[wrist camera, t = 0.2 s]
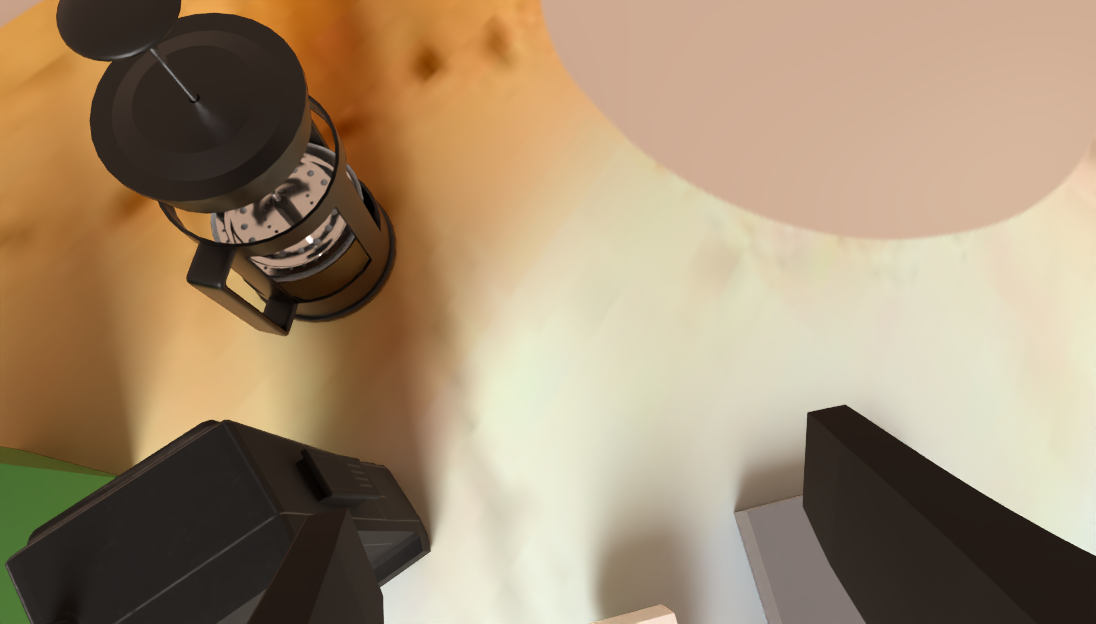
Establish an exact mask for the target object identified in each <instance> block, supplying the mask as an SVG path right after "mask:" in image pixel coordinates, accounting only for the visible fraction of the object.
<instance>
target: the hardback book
mask: <svg viewBox="0 0 1096 624" xmlns="http://www.w3.org/2000/svg"><path fill="white" fill-rule="evenodd" d="M116 477H118V476H116V475H113V474H109V473H105V472H101V471H98V470H94V469H90V468H86V467H83V466H79V465H75V464H71V463H68V462H64V461H60V460H57V459H53V458H49V457H45V456H42V455H38V454H34V453H30V452H27V451H23V450H19V449H13V448H7V447H0V624H30V622H29V619H28V617H27V615H26V613H25V610H24V608H23V606H22V603H21V601H20V599H19V597H18V594H17V592H16V590H15V588H14V585H13V583H12V581H11V578H10V576H9V574H8V572H7V569H6V567H5V563H6V562H7V560H8V559H9V558H10V557H11V556H13V555H14V554H15V553H16V552H18V551H19V550H21V549H22V548H24V547H25V546H27V542H28V539H29V537H30V535H31V534H32V532H33V531H34V530H35V529H37V528H38V527H40V526H41V525H43V524H44V523H46V522H48V521H49V520H51V519H52V518H54V517H55V516H57V515H58V514H60V513H62V512H63V511H65V510H66V509H68V508H69V507H71V506H73V505H74V504H76V503H77V502H79V501H80V500H82V499H83V498H85V497H87V496H88V495H90V494H91V493H93V492H94V491H96V490H97V489H99V488H101V487H102V486H104V485H105V484H107V483H108V482H110V481H111V480H113V479H115V478H116Z"/></svg>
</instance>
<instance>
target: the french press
mask: <svg viewBox="0 0 1096 624" xmlns="http://www.w3.org/2000/svg"><path fill="white" fill-rule="evenodd" d="M180 9H181V0H60V1H59V4H58V7H57V14H56V19H57V27H58V30H59V33H60V35H61V38H62V39H63V40H64V42H65V43H66V45H67V46H68V47H69V48H71V49H72V50H73V51H74V52H76V53H77V54H79V55H81V56H83V57H86V58H89V59H92V60H97V61H107V62H110V61H112V63H111V64H110V65H109V66H108V68H107V69H106V71H105V73H104V75H103V76H102V78H101V80H100V82H99V83H98V86H97V89H96V92H95V95H94V97H93V100H92V106H91V114H90V127H91V136H92V141H93V143H94V146H95V149H96V152H97V154H98V157H99V158H100V159H101V161H102V162H103V164H104V165H105V167H106V168H107V170H108V171H109V172H110V173H111V174H112V175H113V176H114V177H115V178H117V179H118V180H119V181H120V182H121V183H122V184H123V185H124V186H126V187H127V188H129V189H131V190H133V191H134V192H136V193H138V194H140V195H142V196H144V197H147V198H150V199H153V200H156V201H158V203H159V205H160V207H161V209H162V210H163V212H164V213H165V215H166V216H167V218H168V219H169V220H170V221H171V222H172V223H173V224H174V225H175V226H176V227H177V228H178V229H180V230H181V231H182V232H183V233H184V234H185V235H187V236H188V237H189V238H190V239H192V240H193V241H194V242H196V243H197V244H199V245H198V248H197V250H196V253H195V255H194V258H193V260H192V263H191V266H190V268H189V271H188V274H187V278H186V279H187V282H188V283H189V284H190V285H192V286H193V287H195V288H196V289H198V290H199V291H201V292H202V293H203V294H205V295H206V296H208V297H209V298H211V299H212V300H214V301H215V302H217V303H218V304H220V305H221V306H223V307H224V308H226V309H227V310H229V311H230V312H231V313H233V314H234V315H236V316H237V317H239V318H240V319H242V320H243V321H245V322H246V323H248V324H249V325H251V326H252V327H254V328H255V329H257V330H259V331H263V332H267V333H272V334H276V335H281V336H287V335H288V334H289V331H290V329H291V326H292V323H293V320H297V321H303V322H312V323H317V322H329V321H333V320H337V319H340V318H344V317H346V316H348V315H350V314H352V313H355V312H357V311H358V310H360V309H361V308H362V307H364V306H365V305H367V304H368V303H369V302H370V301H371V300H372V299H373V298H374V297H375V296H376V295H377V294H378V293H379V292H380V291H381V289H382V288H383V286H384V285H385V283H386V282H387V280H388V278H389V276H390V273H391V271H392V268H393V266H394V260H395V255H396V238H395V234H394V229H393V226H392V224H391V222H390V219H389V217H388V215H387V213H386V212H385V211H384V209H383V208H382V207H381V205H380V204H379V203H378V202H377V201H376V200H375V199H374V197H373V195H372V194H371V192H370V191H369V190H368V188H367V187H366V186H365V185H364V184H363V183H362V182H361V181H360V180H359V179H358V178H357V176H356V174H355V172H354V171H353V170H352V168H351V167H350V166H349V165H348V163H347V158H346V154H345V149H344V145H343V142H342V140H341V138H340V136H339V134H338V131H337V129H336V128H335V126H334V124H333V122H332V120H331V118H330V117H329V115H328V114H327V112H326V111H325V110H324V109H323V107H322V106H321V105H320V104H319V103H318V102H317V101H316V100H315V99H313V98H312V97H311V96H310V95H308V87H307V83H306V78H305V73H304V71H303V69H302V67H301V65H300V62H299V60H298V58H297V56H296V54H295V53H294V51H293V50H292V49H291V48H290V47H289V45H288V44H287V43H286V42H285V40H284V39H283V38H281V37H280V36H279V35H278V34H276V33H275V32H274V31H273V30H271V29H270V28H268V27H266V26H264V25H262V24H260V23H258V22H256V21H254V20H252V19H248V18H245V17H241V16H238V15H233V14H222V13H206V14H194V15H190V16H185V17H181V18H178V16H179V13H180ZM310 109H311V110H313V111H314V112H315V113H317V114H318V115H319V116H320V117H321V118H323V119H324V120H325V121H326V123H327V124H328V125H329V126H330V128H331V130H332V133H333V137H334V142H335V153H334V152H333V151H331V150H330V149H329V147H328V145H327V144H326V142H325V140H324V139H323V137H322V135H321V134H320V132H319V130H318V128H317V127H316V125H315V123H314V122H313V120H312V118H311V111H310ZM174 207H175V208H179V209H182V210H185V211H188V212H197V213H211V228H212V234H213V237H214V240H215V242H214V241H211V240H208V239H205V238H202V237H199V236H197V235H195V234H193V233H192V232H190V231H188V230H187V229H186V228H185V227H184V225H183V224H182V222H181V221H180V219H179V218H178V217H177V214H176V212H175V209H174ZM355 239H357V241H358V242H359V244H360V245H361V247H362V248H363V249H364V251H365V252H366V254H367V255H368V257H369V258H370V259H369V260H368V262H367V263H366V265H365V266H364V268H363V269H362V271H361V272H360V273H359V274H358V275H357V276H356V277H355V278H354V279H353V280H352V281H351V282H349V283H348V284H346V285H345V286H344V287H342V288H341V289H339V290H337V291H335V292H333V293H331V294H328V295H326V296H323V297H319V298H315V299H312V300H304V299H300V298H297V297H294V296H291V295H290V294H289V293H288V292H287V291H285V290H284V289H283V288H282V287H281V286H280V285H279V284H278V283H276V282H291V281H298V280H301V279H305V278H308V277H311V276H313V275H315V274H317V273H320V272H322V271H324V270H325V269H327V268H328V267H330V266H331V265H332V264H334V263H335V262H337V261H338V260H339V259H340V258H341V257H342V256H343V255H344V254H345V253H346V252H347V251H348V249H349V248H350V247H351V245H352V244H353V242H354V241H355ZM230 268H232V269H233V270H234V271H235V272H237V273H238V274H239V275H240V276H242V278H243V279H244V281H245V282H246V283H247V284H248V285H250V286H251V287H252V288H253V289H254V290H255V291H256V292H257V294H258V295H259V297H260V298H261V299H262V300H263V301H264V302H265V303H266V306H265V309H264V312H263V313H262V312H260V311H259V310H258V309H256V308H255V307H254V306H252V305H251V304H250V303H248V302H247V301H246V300H244V299H243V298H242V297H240V296H239V295H238V294H236V293H235V292H234V291H232V290H231V289H230V288H228V287H227V285H226V279H227V277H228V274H229V271H230Z"/></svg>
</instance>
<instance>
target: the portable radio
mask: <svg viewBox="0 0 1096 624" xmlns="http://www.w3.org/2000/svg"><path fill="white" fill-rule="evenodd" d="M343 508H348V509H349V511H350V514H351V516H352V519H353V521H354V524H355V526H356V529H357V531H358V534H359V536H360V539H361V541H362V544H363V546H364V549H365V551H366V554H367V556H368V559H369V562H370V564H371V567H372V569H373V572H374V574H375V577H376V579H377V582H378V584H379V587H381V586H383V585H384V584H386V583H387V582H388V581H390V580H391V579H393V578H394V577H395V576H397V575H398V574H400V573H401V572H403V571H404V570H405V569H407V568H408V567H410V566H411V565H412V564H414V563H415V562H417V561H418V560H419V559H421V558H422V557H424V556H425V555H426V554H428V553H429V552H430V551H431V549H430V544H429V539H428V535H427V532H426V530H425V528H424V526H423V524H422V522H421V520H420V518H419V516H418V515H417V513H416V512H415V510H414V509H413V507H412V505H411V504H410V502H409V501H408V499H407V498H406V496H405V494H404V493H403V491H402V490H401V488H400V487H399V485H398V483H397V482H396V480H395V479H394V477H393V476H392V474H391V472H390V471H389V470H388V469H387V468H386V467H385V466H384V465H376V464H374V463H368V462H360V461H359V459H357V458H351V457H346V456H341V455H336V454H333V453H330V452H327V451H324V450H321V449H317V448H314V447H311V446H308V445H305V444H302V443H299V442H296V441H293V440H290V439H287V438H283V437H280V436H277V435H274V434H271V433H268V432H265V431H262V430H259V429H256V428H253V427H250V426H246V425H243V424H240V423H237V422H234V421H231V420H223V421H221V422H218V421H215V420H208V421H205V422H202V423H200V424H199V425H197V426H196V427H194V428H193V429H191V430H189V431H188V432H186V433H185V434H183V435H182V436H180V437H179V438H177V439H175V440H174V441H172V442H171V443H169V444H168V445H166V446H164V447H163V448H161V449H160V450H158V451H157V452H155V453H154V454H152V455H150V456H149V457H147V458H146V459H144V460H143V461H141V462H140V463H138V464H136V465H135V466H133V467H132V468H130V469H129V470H127V471H126V472H124V473H122V474H121V475H119V476H118V477H116V478H115V479H113V480H111V481H110V482H108V483H107V484H105V485H104V486H102V487H101V488H99V489H97V490H96V491H94V492H93V493H91V494H90V495H88V496H87V497H85V498H83V499H82V500H80V501H79V502H77V503H76V504H74V505H73V506H71V507H69V508H68V509H66V510H65V511H63V512H62V513H60V514H58V515H57V516H55V517H54V518H52V519H51V520H49V521H48V522H46V523H44V524H43V525H41V526H40V527H38V528H37V529H35V530H34V531H33V532H32V534H31V535H30V537H29V539H28V542H27V546H25V547H24V548H22V549H21V550H19V551H18V552H16V553H15V554H14V555H13V556H11V557H10V558H9V559H8V560H7V562H6V563H5V567H6V569H7V572H8V574H9V576H10V578H11V581H12V583H13V585H14V588H15V590H16V592H17V594H18V597H19V599H20V601H21V603H22V606H23V608H24V610H25V613H26V615H27V617H28V619H29V622H30V624H246V623H247V622H248V620H249V618H250V617H251V615H252V613H253V612H254V610H255V608H256V607H257V605H258V603H259V602H260V600H261V598H262V596H263V594H264V593H265V591H266V589H267V587H268V586H269V584H270V582H271V580H272V578H273V577H274V575H275V573H276V571H277V569H278V568H279V566H280V564H281V562H282V560H283V558H284V557H285V555H286V553H287V551H288V549H289V547H290V546H291V544H292V542H293V540H294V538H295V536H296V534H297V533H298V531H299V529H300V527H301V525H302V523H303V522H304V521H305V519H306V518H307V517H308V516H309V515H314V514H319V513H324V512H328V511H333V510H338V509H343Z"/></svg>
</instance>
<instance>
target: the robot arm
mask: <svg viewBox="0 0 1096 624" xmlns="http://www.w3.org/2000/svg"><path fill="white" fill-rule="evenodd" d="M803 508H804V511H805V513H806V515H807V517H808V519H809V522H810V524H811V526H812V528H813V531H814V533H815V535H816V537H817V539H818V541H819V544H820V546H821V548H822V550H823V552H824V554H825V556H826V558H827V560H828V562H829V564H830V566H831V568H832V569H833V571H834V573H835V574H836V576H837V578H838V579H839V581H840V583H841V584H842V586H843V587H844V589H845V591H846V592H847V594H848V596H849V597H850V599H851V600H852V602H853V604H854V605H855V607H856V609H857V610H858V612H859V613H860V615H861V617H862V618H863V620H864V621H865V623H866V624H1096V556H1095V555H1093V554H1091V553H1089V552H1087V551H1085V550H1082V549H1081V548H1079V547H1077V546H1075V545H1073V544H1071V543H1069V542H1067V541H1065V540H1063V539H1061V538H1060V537H1058V536H1056V535H1054V534H1052V533H1050V532H1049V531H1047V530H1045V529H1043V528H1041V527H1040V526H1038V525H1036V524H1034V523H1033V522H1031V521H1029V520H1027V519H1026V518H1024V517H1022V516H1020V515H1018V514H1017V513H1015V512H1013V511H1011V510H1010V509H1008V508H1006V507H1004V506H1003V505H1001V504H999V503H998V502H996V501H994V500H993V499H991V498H989V497H988V496H986V495H984V494H983V493H981V492H979V491H978V490H976V489H974V488H973V487H971V486H969V485H968V484H966V483H965V482H963V481H961V480H960V479H958V478H957V477H955V476H953V475H952V474H950V473H949V472H947V471H946V470H944V469H942V468H941V467H939V466H938V465H936V464H935V463H933V462H932V461H930V460H928V459H927V458H925V457H924V456H922V455H921V454H919V453H918V452H916V451H915V450H913V449H912V448H910V447H909V446H907V445H906V444H904V443H903V442H901V441H900V440H898V439H897V438H895V437H894V436H892V435H891V434H889V433H888V432H886V431H885V430H883V429H882V428H880V427H879V426H877V425H876V424H874V423H873V422H871V421H870V420H868V419H867V418H865V417H864V416H862V415H861V414H859V413H858V412H856V411H854V410H853V409H851V408H850V407H848V406H847V405H841V406H836V407H831V408H826V409H822V410H817V411H812V412H807V431H806V449H805V468H804V487H803ZM246 624H384V614H383V594H382V592H381V589H380V587H379V584H378V582H377V579H376V577H375V574H374V572H373V569H372V567H371V564H370V562H369V559H368V556H367V554H366V551H365V549H364V546H363V544H362V541H361V539H360V536H359V534H358V531H357V529H356V526H355V524H354V521H353V519H352V516H351V514H350V511H349V509H348V508H343V509H338V510H333V511H328V512H324V513H319V514H314V515H309V516H308V517H307V518H306V519H305V521H304V522H303V523H302V525H301V527H300V529H299V531H298V533H297V534H296V536H295V538H294V540H293V542H292V544H291V546H290V547H289V549H288V551H287V553H286V555H285V557H284V558H283V560H282V562H281V564H280V566H279V568H278V569H277V571H276V573H275V575H274V577H273V578H272V580H271V582H270V584H269V586H268V587H267V589H266V591H265V593H264V594H263V596H262V598H261V600H260V602H259V603H258V605H257V607H256V608H255V610H254V612H253V613H252V615H251V617H250V618H249V620H248V622H247V623H246Z"/></svg>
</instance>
